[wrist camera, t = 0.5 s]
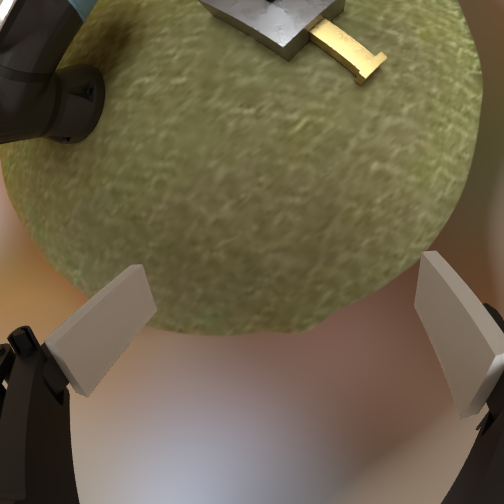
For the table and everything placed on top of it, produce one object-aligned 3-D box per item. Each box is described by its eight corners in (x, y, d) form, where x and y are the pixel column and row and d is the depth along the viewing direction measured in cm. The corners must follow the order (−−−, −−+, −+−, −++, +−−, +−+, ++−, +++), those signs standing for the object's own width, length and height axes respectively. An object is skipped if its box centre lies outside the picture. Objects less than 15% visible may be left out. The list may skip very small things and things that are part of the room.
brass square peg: (300, 39, 28) (298, 27, 24) (320, 20, 26) (321, 7, 22) (360, 85, 29) (365, 78, 25) (379, 66, 27) (387, 57, 23)
